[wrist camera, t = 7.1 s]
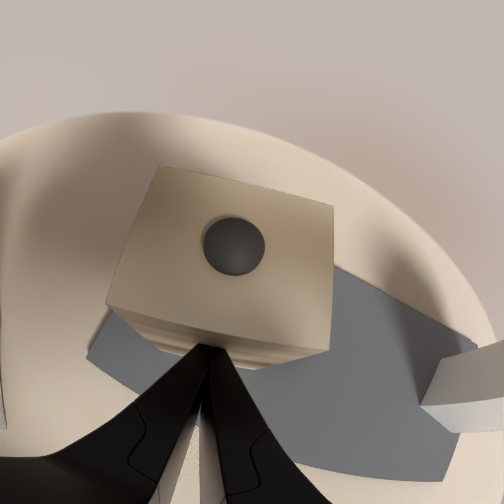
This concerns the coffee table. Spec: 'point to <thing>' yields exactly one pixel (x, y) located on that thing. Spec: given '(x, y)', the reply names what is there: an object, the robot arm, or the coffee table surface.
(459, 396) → the tile two
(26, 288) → the coffee table surface
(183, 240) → the tile one
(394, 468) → the mat
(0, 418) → the small box
